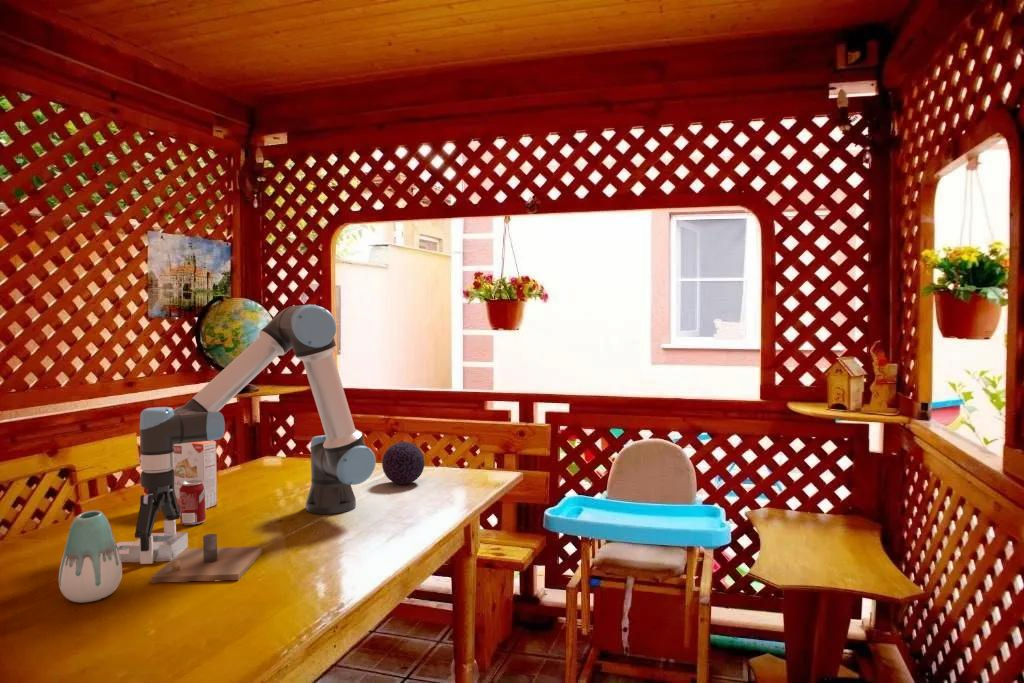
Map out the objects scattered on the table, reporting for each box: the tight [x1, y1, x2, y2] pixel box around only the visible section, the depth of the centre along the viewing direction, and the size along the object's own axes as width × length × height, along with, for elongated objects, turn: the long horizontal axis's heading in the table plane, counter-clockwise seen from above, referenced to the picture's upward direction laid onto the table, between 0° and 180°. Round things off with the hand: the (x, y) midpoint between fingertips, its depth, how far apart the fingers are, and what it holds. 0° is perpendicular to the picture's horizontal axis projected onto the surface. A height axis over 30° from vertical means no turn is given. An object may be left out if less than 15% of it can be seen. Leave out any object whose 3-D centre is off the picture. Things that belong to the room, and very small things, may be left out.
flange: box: [116, 531, 189, 563], centre depth 173 cm, size 17×10×4 cm, turn 94°
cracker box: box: [172, 440, 218, 510], centre depth 218 cm, size 14×6×21 cm, turn 70°
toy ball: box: [381, 441, 426, 485], centre depth 247 cm, size 15×15×15 cm
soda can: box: [179, 480, 207, 526], centre depth 200 cm, size 7×7×12 cm
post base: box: [150, 533, 264, 584], centre depth 164 cm, size 19×19×8 cm
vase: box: [58, 510, 123, 604], centre depth 147 cm, size 12×12×18 cm
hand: (158, 554), depth 173 cm, fingers open, 13 cm apart
